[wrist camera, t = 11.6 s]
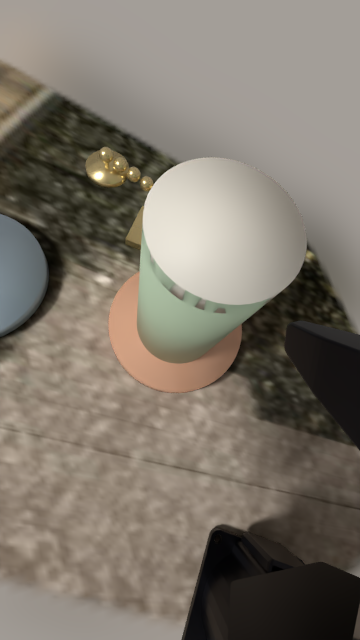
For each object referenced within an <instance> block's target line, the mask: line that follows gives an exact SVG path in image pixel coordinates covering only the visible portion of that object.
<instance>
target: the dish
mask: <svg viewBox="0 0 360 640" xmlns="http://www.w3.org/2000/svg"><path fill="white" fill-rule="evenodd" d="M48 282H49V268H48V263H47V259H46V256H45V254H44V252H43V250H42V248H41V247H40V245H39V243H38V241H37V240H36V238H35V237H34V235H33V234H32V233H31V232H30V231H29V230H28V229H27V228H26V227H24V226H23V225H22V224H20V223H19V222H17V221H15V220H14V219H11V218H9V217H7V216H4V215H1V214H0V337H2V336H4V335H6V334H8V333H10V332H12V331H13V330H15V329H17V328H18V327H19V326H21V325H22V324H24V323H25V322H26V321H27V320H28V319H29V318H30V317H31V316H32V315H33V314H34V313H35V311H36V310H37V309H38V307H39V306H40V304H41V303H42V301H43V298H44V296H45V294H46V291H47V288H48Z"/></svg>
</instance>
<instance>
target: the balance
mask: <svg viewBox="0 0 360 640" xmlns="http://www.w3.org/2000/svg"><path fill="white" fill-rule="evenodd" d="M86 171H87V175H88V177H89V179H90V180H91V181H92V182H93V183H95V184H96V185H98V186H101V187H105V188H113V187H117V186H120V185H121V184H123V183H124V182H125V181H126V180H127V178H128V179H129V180H130V181H131V182H137V181H138V180H139V179H140V171H139V170H138V169H137V168H136V167H131V168H129V167H128V163H127V161H126V159H125V158H124V157H123V156H122V155H121V154H119V153H117V152H115V151H112V150H111V149H110V148H108V147H103V148H101V149H100V151H97V152H94V153H93V154H91V155H90V156H89V157H88V159H87V161H86ZM140 186H141V188H142V189H143V190H144V191H149V190H151V188H152V186H153V181H152V179H151V178H150V177H147V176H145V177H143V178H142V179H141V180H140ZM143 211H144V206H142V207H141V209H140V211H139V213H138V215H137V217H136V219H135V221H134V223H133V225H132V227H131V229H130V231H129V233H128V235H127V237H126V245H128V246H131V247H133V248H136V249H138V250H141V240H142V223H143Z"/></svg>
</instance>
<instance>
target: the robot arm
mask: <svg viewBox="0 0 360 640" xmlns="http://www.w3.org/2000/svg"><path fill="white" fill-rule="evenodd" d="M284 346H285V351H286V353H287V355H288V356H289V358H290V359H291V361H292V362H293V364H294V366H295V367H296V369H297V370H298V372H299V373H300V375H301V376H302V378H303V379H304V381H305V382H306V384H307V385H308V387H309V388H310V390H311V391H312V392H313V394H314V395H315V396H316V397H317V399H318V400H319V401H320V402H321V404H322V405H323V406H324V407H325V409H326V410H327V411H328V412H329V413H330V415H331V416H332V417H333V418H334V420H335V421H336V422H337V423H338V425H339V426H340V427H341V428H342V429H343V431H344V432H345V433H346V434H347V436H348V437H349V438H350V439H351V440H352V442H353V443H354V444H355V445H356V447H357V448H358V449H359V450H360V335H358V334H354V333H350V332H346V331H342V330H338V329H334V328H330V327H326V326H322V325H318V324H314V323H310V322H306V321H296V322H291V323H289V324H288V325H287V329H286V337H285V345H284ZM216 535H220V540H219V541H214V538H215V536H216ZM182 640H360V578H359V577H357V576H354V575H352V574H350V573H347V572H345V571H343V570H340V569H338V568H336V567H333V566H331V565H329V564H326V563H324V562H316V563H312V564H307V565H305V564H304V563H303V561H302V560H301V559H300V558H298V557H297V556H294V555H293V554H291V553H290V552H289V551H288V550H287V549H286V548H285V547H283V546H282V545H281V544H279V543H276V542H274V541H271V540H268V539H265V538H263V537H260V536H257V535H254V534H252V533H249V532H245V533H243V535H242V536H239V535H236V534H234V533H231V532H228V531H225V530H223V529H220V528H214V529H212V530H211V532H210V534H209V538H208V541H207V545H206V549H205V553H204V556H203V560H202V564H201V568H200V572H199V575H198V579H197V583H196V587H195V591H194V594H193V598H192V602H191V606H190V610H189V613H188V617H187V621H186V625H185V629H184V632H183V636H182Z"/></svg>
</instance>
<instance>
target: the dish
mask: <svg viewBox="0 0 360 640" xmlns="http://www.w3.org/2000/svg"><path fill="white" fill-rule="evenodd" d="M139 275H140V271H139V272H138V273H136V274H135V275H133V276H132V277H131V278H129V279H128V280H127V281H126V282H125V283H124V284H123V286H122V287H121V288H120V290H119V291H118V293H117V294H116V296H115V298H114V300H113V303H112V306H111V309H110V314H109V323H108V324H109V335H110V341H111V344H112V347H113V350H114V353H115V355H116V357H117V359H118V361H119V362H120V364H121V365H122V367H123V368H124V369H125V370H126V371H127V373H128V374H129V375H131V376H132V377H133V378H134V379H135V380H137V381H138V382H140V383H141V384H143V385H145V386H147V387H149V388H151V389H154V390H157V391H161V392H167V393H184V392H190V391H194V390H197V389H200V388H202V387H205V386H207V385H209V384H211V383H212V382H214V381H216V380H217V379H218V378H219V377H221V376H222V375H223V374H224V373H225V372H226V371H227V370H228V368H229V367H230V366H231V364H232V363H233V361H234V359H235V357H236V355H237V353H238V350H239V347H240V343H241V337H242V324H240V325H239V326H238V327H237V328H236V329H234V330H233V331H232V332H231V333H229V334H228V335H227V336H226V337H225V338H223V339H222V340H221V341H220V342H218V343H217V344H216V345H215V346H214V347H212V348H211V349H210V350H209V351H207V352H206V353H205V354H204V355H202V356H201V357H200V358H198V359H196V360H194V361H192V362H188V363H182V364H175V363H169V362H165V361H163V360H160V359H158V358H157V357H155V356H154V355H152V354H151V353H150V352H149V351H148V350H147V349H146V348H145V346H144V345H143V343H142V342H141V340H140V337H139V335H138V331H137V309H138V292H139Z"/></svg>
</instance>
